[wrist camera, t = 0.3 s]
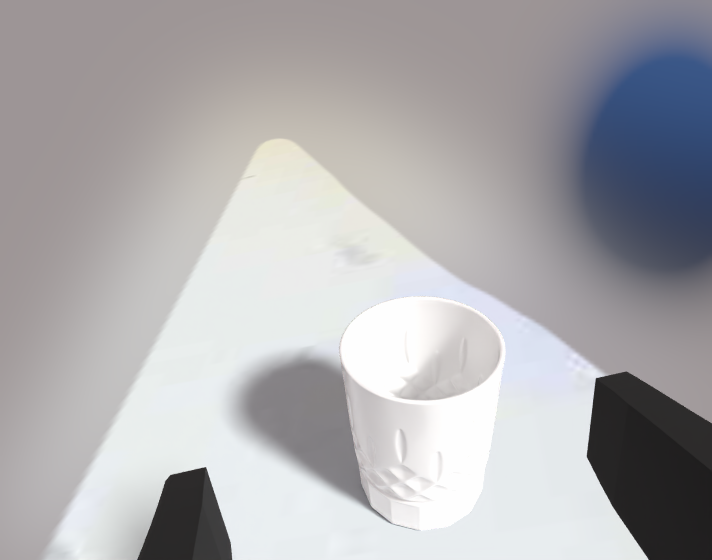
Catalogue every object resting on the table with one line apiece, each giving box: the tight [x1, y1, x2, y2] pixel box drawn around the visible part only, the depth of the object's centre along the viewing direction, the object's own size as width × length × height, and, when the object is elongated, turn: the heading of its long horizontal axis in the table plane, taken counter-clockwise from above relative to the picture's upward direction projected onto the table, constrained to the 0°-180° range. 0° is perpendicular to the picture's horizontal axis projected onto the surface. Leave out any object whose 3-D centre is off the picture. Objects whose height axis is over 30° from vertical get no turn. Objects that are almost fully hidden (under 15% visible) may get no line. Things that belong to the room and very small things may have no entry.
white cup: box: [339, 296, 505, 531], centre depth 34 cm, size 8×8×10 cm
